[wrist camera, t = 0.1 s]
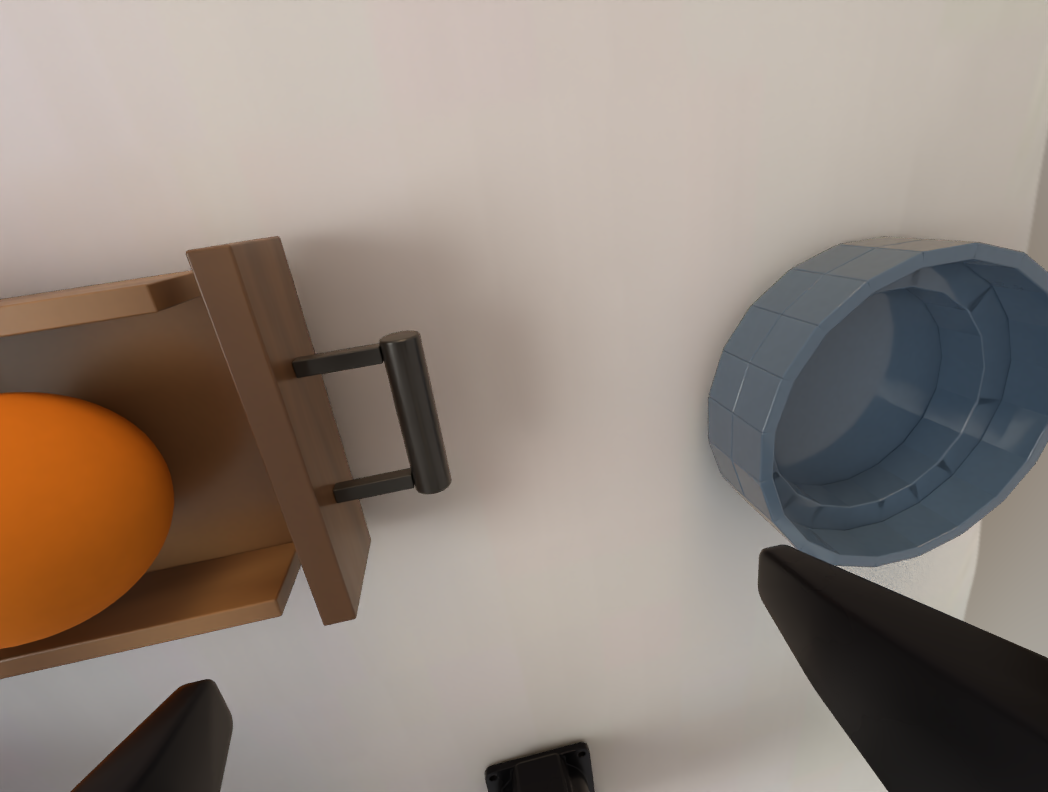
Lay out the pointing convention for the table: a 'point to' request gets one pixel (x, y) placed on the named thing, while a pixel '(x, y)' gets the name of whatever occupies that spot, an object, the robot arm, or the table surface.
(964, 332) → the bowl
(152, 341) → the drawer
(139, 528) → the orange
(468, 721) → the table surface
